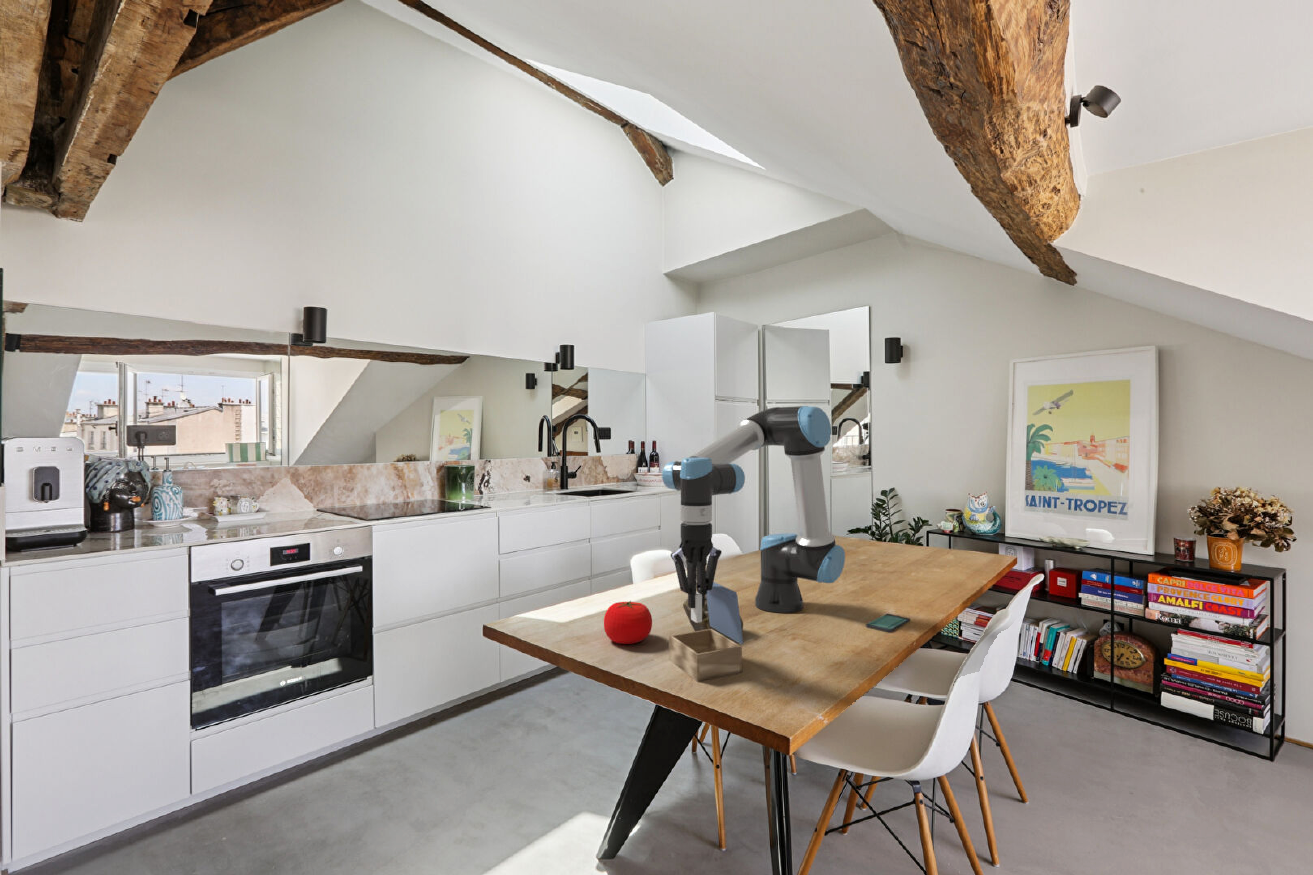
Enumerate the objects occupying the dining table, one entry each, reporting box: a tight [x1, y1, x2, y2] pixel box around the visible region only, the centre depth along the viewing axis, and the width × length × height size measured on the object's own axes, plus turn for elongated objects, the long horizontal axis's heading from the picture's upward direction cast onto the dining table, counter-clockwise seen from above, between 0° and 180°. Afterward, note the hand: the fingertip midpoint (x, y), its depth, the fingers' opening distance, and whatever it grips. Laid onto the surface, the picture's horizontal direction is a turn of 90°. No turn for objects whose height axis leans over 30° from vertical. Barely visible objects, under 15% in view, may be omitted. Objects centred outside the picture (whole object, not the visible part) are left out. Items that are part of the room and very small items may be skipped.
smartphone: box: [865, 613, 911, 634], centre depth 175 cm, size 7×1×15 cm
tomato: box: [603, 600, 653, 645], centre depth 162 cm, size 14×13×10 cm
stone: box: [682, 595, 744, 640], centre depth 165 cm, size 16×9×15 cm
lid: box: [706, 581, 744, 645], centre depth 146 cm, size 14×12×2 cm
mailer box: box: [668, 629, 743, 682], centre depth 144 cm, size 14×12×6 cm
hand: (696, 620), depth 143 cm, fingers closed
